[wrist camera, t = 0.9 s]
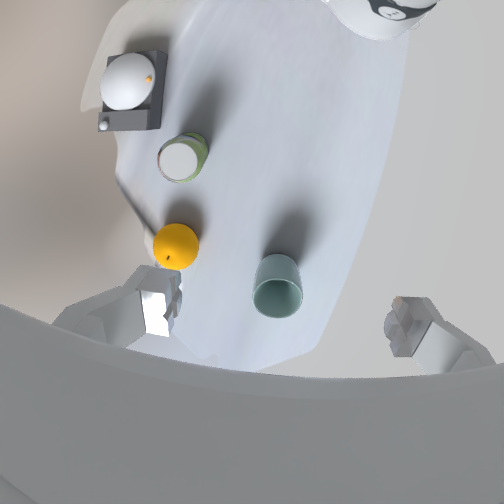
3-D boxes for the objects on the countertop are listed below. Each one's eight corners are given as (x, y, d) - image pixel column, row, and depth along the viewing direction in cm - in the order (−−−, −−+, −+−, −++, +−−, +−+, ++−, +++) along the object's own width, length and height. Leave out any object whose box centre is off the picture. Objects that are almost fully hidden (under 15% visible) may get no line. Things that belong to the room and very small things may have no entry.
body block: (120, 60, 35) (100, 55, 29) (169, 55, 35) (154, 47, 29) (113, 129, 41) (93, 132, 35) (161, 128, 41) (145, 130, 35)
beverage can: (173, 133, 41) (141, 140, 30) (217, 130, 40) (197, 134, 30) (175, 170, 44) (145, 187, 33) (218, 168, 43) (199, 185, 33)
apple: (209, 230, 48) (198, 249, 42) (193, 264, 52) (182, 286, 45) (169, 210, 47) (152, 226, 41) (156, 246, 51) (140, 265, 44)
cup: (260, 243, 49) (256, 273, 40) (303, 252, 49) (309, 282, 40) (252, 280, 52) (247, 314, 43) (292, 287, 52) (295, 322, 43)
